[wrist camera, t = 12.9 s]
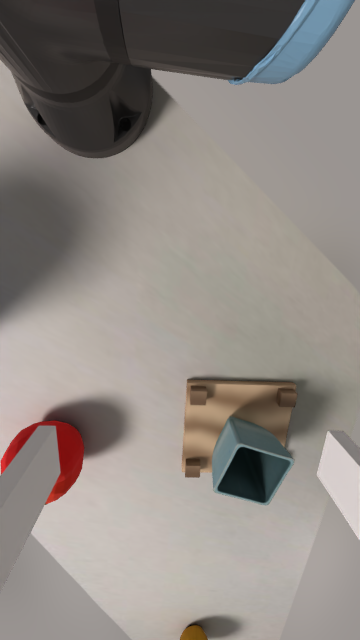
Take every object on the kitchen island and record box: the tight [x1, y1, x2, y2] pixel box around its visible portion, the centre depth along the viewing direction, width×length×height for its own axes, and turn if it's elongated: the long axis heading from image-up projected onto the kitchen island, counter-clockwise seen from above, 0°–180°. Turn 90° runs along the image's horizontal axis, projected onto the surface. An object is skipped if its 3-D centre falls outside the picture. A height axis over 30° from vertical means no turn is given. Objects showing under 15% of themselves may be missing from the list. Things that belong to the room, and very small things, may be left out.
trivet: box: [182, 380, 297, 477], centre depth 42 cm, size 18×18×3 cm
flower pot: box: [212, 416, 294, 505], centre depth 38 cm, size 9×9×9 cm
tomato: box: [1, 420, 84, 505], centre depth 38 cm, size 12×12×10 cm
